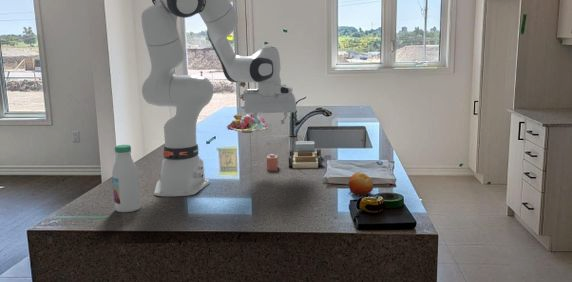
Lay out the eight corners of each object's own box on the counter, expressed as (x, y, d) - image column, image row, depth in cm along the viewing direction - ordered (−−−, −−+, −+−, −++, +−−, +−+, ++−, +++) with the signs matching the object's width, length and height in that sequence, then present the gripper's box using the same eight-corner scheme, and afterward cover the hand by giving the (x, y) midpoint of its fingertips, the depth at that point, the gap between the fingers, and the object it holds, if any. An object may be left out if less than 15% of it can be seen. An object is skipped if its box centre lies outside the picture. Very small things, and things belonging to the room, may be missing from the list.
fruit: (351, 184, 175) (362, 166, 171) (369, 199, 171) (380, 181, 167) (338, 190, 168) (349, 171, 164) (356, 205, 165) (367, 187, 161)
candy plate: (219, 128, 300) (219, 112, 298) (251, 123, 315) (250, 108, 313) (246, 133, 282) (245, 116, 280) (278, 127, 297) (278, 111, 295)
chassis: (322, 167, 203) (321, 150, 201) (288, 168, 203) (288, 151, 202) (320, 156, 222) (320, 140, 221) (290, 156, 223) (289, 141, 222)
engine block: (277, 170, 201) (276, 156, 200) (267, 170, 201) (266, 156, 200) (277, 167, 206) (277, 153, 205) (267, 167, 206) (267, 153, 205)
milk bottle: (143, 204, 163) (138, 142, 159) (137, 212, 155) (132, 148, 151) (119, 205, 163) (113, 143, 159) (112, 213, 155) (105, 148, 151)
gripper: (241, 90, 195) (243, 126, 198) (295, 89, 194) (296, 125, 197) (243, 88, 201) (245, 123, 204) (295, 87, 200) (296, 122, 203)
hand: (270, 124), depth 200 cm, fingers open, 8 cm apart
